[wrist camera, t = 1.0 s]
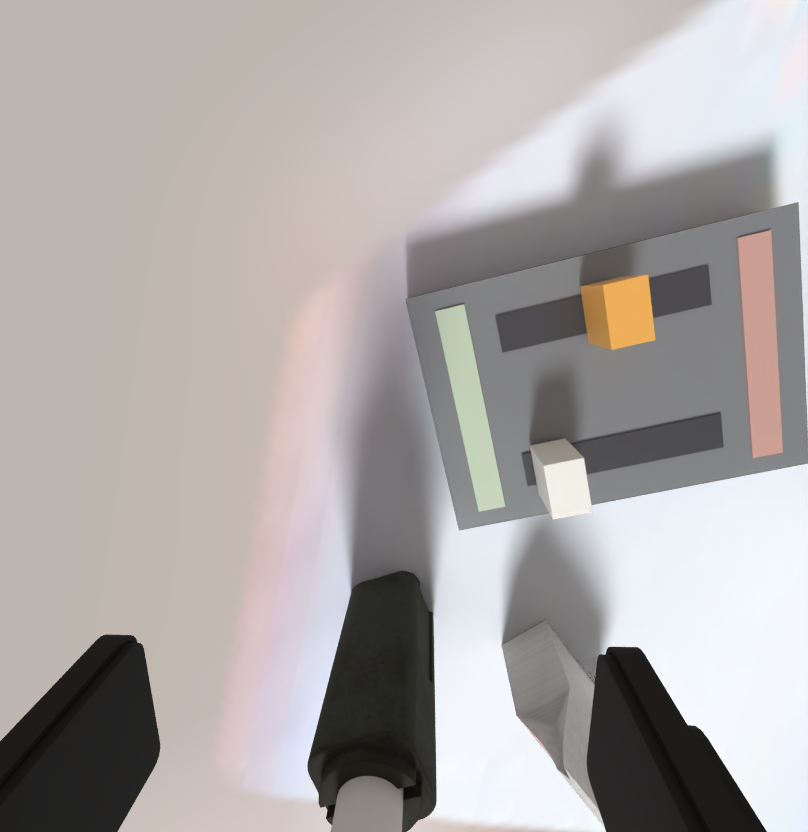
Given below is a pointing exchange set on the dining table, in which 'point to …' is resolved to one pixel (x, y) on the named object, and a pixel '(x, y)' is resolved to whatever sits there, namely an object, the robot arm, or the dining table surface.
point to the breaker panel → (619, 374)
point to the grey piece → (553, 702)
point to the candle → (379, 712)
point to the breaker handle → (618, 312)
